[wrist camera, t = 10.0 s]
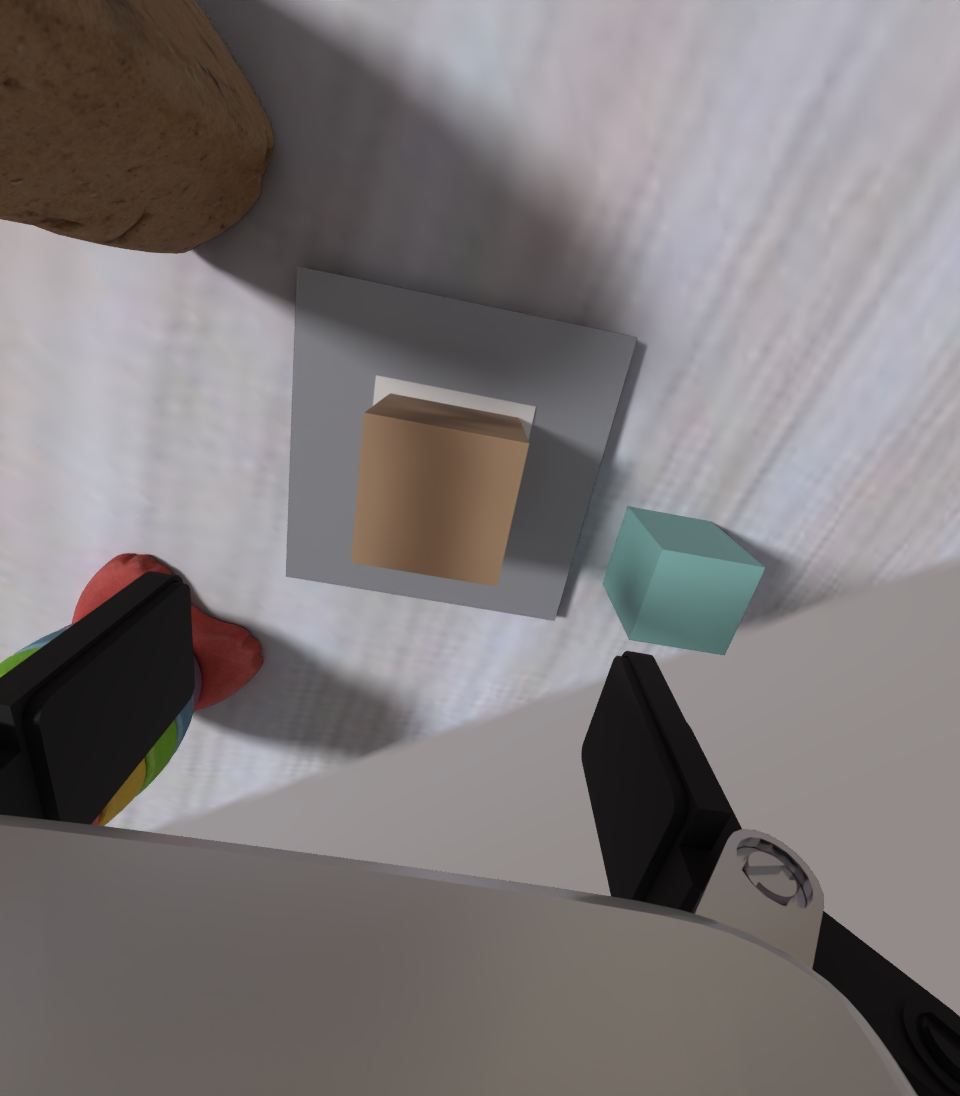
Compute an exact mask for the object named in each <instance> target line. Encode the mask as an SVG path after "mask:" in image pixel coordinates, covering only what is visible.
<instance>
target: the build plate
mask: <svg viewBox="0 0 960 1096" xmlns="http://www.w3.org/2000/svg"><path fill="white" fill-rule="evenodd" d="M636 340H637V337H633V336H628V335H624V334H619V333H614V332H609V331H604V330H600V329H595V328H590V327H585V326H581V325H576V324H571V323H566V322H562V321H557V320H552V319H547V318H543V317H538V316H533V315H528V314H524V313H519V312H514V311H509V310H504V309H500V308H495V307H490V306H485V305H481V304H476V303H471V302H466V301H462V300H457V299H452V298H447V297H443V296H438V295H433V294H428V293H424V292H419V291H414V290H409V289H404V288H400V287H395V286H390V285H385V284H381V283H376V282H371V281H366V280H362V279H357V278H352V277H347V276H343V275H338V274H333V273H328V272H324V271H319V270H314V269H309V268H304V267H300V266H297V276H296V304H295V332H294V361H293V389H292V417H291V446H290V474H289V502H288V531H287V559H286V576H287V577H293V578H299V579H305V580H311V581H317V582H323V583H329V584H335V585H341V586H347V587H353V588H359V589H366V590H372V591H378V592H384V593H390V594H396V595H402V596H408V597H414V598H420V599H426V600H432V601H438V602H444V603H450V604H457V605H463V606H469V607H475V608H481V609H487V610H493V611H499V612H505V613H511V614H517V615H523V616H529V617H535V618H541V619H548V620H554V621H555V618H556V614H557V611H558V607H559V604H560V601H561V597H562V594H563V590H564V587H565V583H566V580H567V577H568V573H569V570H570V566H571V563H572V559H573V556H574V553H575V549H576V546H577V542H578V539H579V535H580V532H581V529H582V525H583V522H584V518H585V515H586V512H587V508H588V505H589V501H590V498H591V494H592V491H593V488H594V484H595V481H596V477H597V474H598V470H599V467H600V464H601V460H602V457H603V453H604V450H605V446H606V443H607V440H608V436H609V433H610V429H611V426H612V423H613V419H614V416H615V412H616V409H617V405H618V402H619V399H620V395H621V392H622V388H623V385H624V381H625V378H626V375H627V371H628V368H629V364H630V361H631V357H632V354H633V351H634V347H635V344H636ZM390 393H392V394H397V395H402V396H408V397H413V398H418V399H423V400H429V401H434V402H439V403H444V404H450V405H455V406H460V407H465V408H471V409H476V410H481V411H486V412H492V413H497V414H502V415H507V416H513V417H518V418H519V419H520V422H521V424H522V427H523V429H524V431H525V434H526V436H527V439H528V441H529V447H528V451H527V456H526V460H525V465H524V469H523V474H522V478H521V483H520V487H519V491H518V496H517V500H516V505H515V509H514V514H513V518H512V522H511V527H510V531H509V536H508V540H507V545H506V549H505V554H504V558H503V562H502V567H501V571H500V576H499V580H498V585H497V587H496V586H490V585H484V584H478V583H472V582H466V581H459V580H453V579H447V578H441V577H435V576H429V575H423V574H417V573H411V572H405V571H399V570H393V569H387V568H381V567H375V566H368V565H362V564H356V563H351V555H352V544H353V532H354V521H355V510H356V499H357V487H358V476H359V465H360V454H361V442H362V431H363V420H364V412H366V411H367V410H368V409H370V408H371V407H372V406H374V405H375V404H376V403H378V402H379V401H380V400H382V399H383V398H384V397H386V396H387V395H388V394H390Z"/></svg>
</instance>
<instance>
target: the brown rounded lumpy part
mask: <svg viewBox="0 0 960 1096" xmlns="http://www.w3.org/2000/svg"><path fill="white" fill-rule="evenodd" d="M274 145H275V144H274V138H273V132H272V126H271V122H270V120H269V118H268V116H267V114H266V113H265V111H264V109H263V107H262V105H261V103H260V101H259V99H258V97H257V95H256V94H255V92H254V90H253V88H252V86H251V85H250V83H249V81H248V79H247V78H246V76H245V75H244V73H243V71H242V70H241V68H240V67H239V65H238V64H237V62H236V60H235V59H234V57H233V56H232V54H231V52H230V50H229V48H228V47H227V45H226V44H225V42H224V41H223V40H222V38H221V37H220V35H219V34H218V32H217V31H216V29H215V28H214V26H213V25H212V23H211V21H210V20H209V18H208V17H207V15H206V14H205V12H204V11H203V9H202V8H201V6H200V5H199V3H198V2H197V1H196V0H0V219H3V220H8V221H13V222H18V223H23V224H29V225H31V224H32V225H34V226H37V227H39V228H42V229H45V230H47V231H50V232H53V233H56V234H59V235H63V236H67V237H71V238H76V239H80V240H84V241H88V242H93V243H97V244H102V245H107V246H112V247H118V248H124V249H130V250H139V251H145V252H154V253H175V254H177V253H185V252H187V251H190V250H192V249H194V248H195V247H197V246H199V245H200V244H202V243H204V242H206V241H209V240H211V239H213V238H215V237H216V236H218V235H219V234H221V233H222V232H224V231H225V230H226V229H228V228H229V227H231V226H232V225H233V224H235V223H236V222H238V221H239V220H240V219H241V218H242V217H243V216H244V215H245V214H246V213H247V212H248V211H249V210H250V209H251V208H252V206H253V205H254V204H255V202H256V201H257V199H258V198H259V196H260V195H261V192H262V177H263V175H264V173H265V171H266V167H267V164H268V162H269V159H270V156H271V154H272V151H273V148H274Z"/></svg>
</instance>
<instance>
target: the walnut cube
mask: <svg viewBox="0 0 960 1096" xmlns="http://www.w3.org/2000/svg"><path fill="white" fill-rule="evenodd" d="M528 447H529V441H528V439H527V436H526V434H525V431H524V429H523V427H522V424H521V422H520V419H519V418H518V417H513V416H507V415H502V414H497V413H492V412H486V411H481V410H476V409H471V408H465V407H460V406H455V405H450V404H444V403H439V402H434V401H429V400H423V399H418V398H413V397H408V396H402V395H397V394H392V393H390V394H388V395H387V396H386V397H384V398H383V399H382V400H380V401H379V402H378V403H376V404H375V405H374V406H372V407H371V408H370V409H368V410H367V411H366V412H364V420H363V431H362V442H361V454H360V465H359V476H358V487H357V499H356V510H355V521H354V532H353V544H352V555H351V563H356V564H362V565H368V566H375V567H381V568H387V569H393V570H399V571H405V572H411V573H417V574H423V575H429V576H435V577H441V578H447V579H453V580H459V581H466V582H472V583H478V584H484V585H490V586H496V587H497V585H498V580H499V576H500V571H501V567H502V562H503V558H504V554H505V549H506V545H507V540H508V536H509V531H510V527H511V522H512V518H513V514H514V509H515V505H516V500H517V496H518V491H519V487H520V483H521V478H522V474H523V469H524V465H525V460H526V456H527V451H528Z"/></svg>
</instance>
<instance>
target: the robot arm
mask: <svg viewBox="0 0 960 1096" xmlns="http://www.w3.org/2000/svg"><path fill="white" fill-rule="evenodd" d="M194 688H195V672H194V654H193V635H192V616H191V598H190V588H189V586H188V585H187V584H185V583H183V581H182V579H181V577H180V576H178V575H172V574H167V573H161V572H155V571H148V572H146V573H144V574H143V575H141V576H140V577H139V578H137V579H136V580H134V581H133V582H132V583H130V584H129V585H127V586H126V587H125V588H123V589H122V590H121V591H119V592H118V593H116V594H115V595H114V596H112V597H111V598H109V599H108V600H107V601H105V602H104V603H103V604H101V605H100V606H98V607H97V608H96V609H94V610H93V611H91V612H90V613H89V614H87V615H86V616H85V617H83V618H82V619H80V620H79V621H78V622H76V623H75V624H73V625H72V626H71V627H69V628H68V629H67V630H65V631H64V632H62V633H61V634H60V635H58V636H57V637H56V638H54V639H53V640H51V641H50V642H49V643H47V644H46V645H44V646H43V647H42V648H40V649H39V650H38V651H36V652H35V653H33V654H32V655H31V656H29V657H28V658H26V659H25V660H24V661H22V662H21V663H20V664H18V665H17V666H15V667H14V668H13V669H11V670H10V671H8V672H7V673H6V674H4V675H3V676H2V677H0V1096H960V1017H959V1016H958V1015H957V1014H956V1013H955V1012H953V1010H951V1009H950V1008H949V1007H947V1006H946V1005H945V1004H943V1003H942V1002H941V1001H940V1000H938V999H937V998H935V997H934V996H933V995H932V994H930V993H929V992H928V991H927V990H925V989H924V988H923V987H921V986H920V985H919V984H918V983H916V982H915V981H914V980H912V979H911V978H910V977H908V976H907V975H906V974H905V973H903V972H902V971H901V970H899V969H898V968H897V967H896V966H894V965H893V964H892V963H890V962H889V961H888V960H886V959H885V958H883V956H881V955H880V954H879V953H877V952H876V951H875V950H873V949H872V948H871V947H869V946H868V945H867V944H866V943H864V942H863V941H862V940H860V939H859V938H858V937H857V936H855V935H854V934H852V933H851V932H850V931H849V930H848V929H846V928H845V927H844V926H842V925H841V924H840V923H838V922H837V921H836V920H835V919H833V918H832V917H831V916H829V915H828V914H827V913H825V912H824V911H823V909H824V894H823V891H822V889H821V887H820V884H819V881H818V879H817V878H816V876H815V875H814V873H813V872H812V870H811V869H810V867H809V866H808V865H807V864H806V863H805V862H804V861H803V859H802V858H801V857H800V856H799V855H798V854H797V853H796V852H794V851H793V850H792V849H791V848H789V847H788V846H787V845H785V844H784V843H783V842H781V841H779V840H778V839H776V838H774V837H772V836H770V835H769V834H766V833H763V832H760V831H757V830H749V829H742V828H741V826H740V824H739V822H738V820H737V818H736V816H735V814H734V812H733V810H732V808H731V806H730V804H729V802H728V800H727V799H726V796H725V794H724V793H723V790H722V788H721V787H720V785H719V783H718V781H717V779H716V777H715V775H714V773H713V771H712V769H711V767H710V765H709V763H708V761H707V759H706V757H705V755H704V753H703V751H702V749H701V747H700V745H699V743H698V741H697V739H696V737H695V735H694V733H693V731H692V729H691V728H690V726H689V725H688V723H687V722H686V720H685V718H684V716H683V714H682V712H681V711H680V708H679V706H678V705H677V702H676V700H675V698H674V696H673V694H672V692H671V690H670V689H669V686H668V685H667V683H666V681H665V679H664V677H663V675H662V673H661V671H660V669H659V667H658V665H657V663H656V661H655V659H654V657H653V656H652V655H648V654H642V653H636V652H630V651H626V652H624V653H623V655H622V657H621V656H616V657H615V658H614V660H613V662H612V665H611V668H610V671H609V673H608V676H607V679H606V682H605V685H604V687H603V690H602V693H601V696H600V698H599V701H598V704H597V707H596V709H595V712H594V715H593V718H592V720H591V723H590V726H589V729H588V732H587V734H586V737H585V740H584V742H583V746H582V763H583V769H584V773H585V777H586V782H587V787H588V792H589V796H590V801H591V805H592V810H593V814H594V819H595V823H596V828H597V833H598V838H599V842H600V847H601V851H602V855H603V860H604V865H605V870H606V875H607V879H608V884H609V888H610V893H611V896H605V895H598V894H592V893H586V892H580V891H573V890H567V889H561V888H555V887H548V886H541V885H533V884H527V883H520V882H513V881H506V880H499V879H491V878H485V877H477V876H470V875H463V874H455V873H449V872H442V871H434V870H428V869H421V868H414V867H406V866H399V865H392V864H385V863H377V862H370V861H363V860H355V859H348V858H341V857H333V856H326V855H318V854H310V853H304V852H296V851H289V850H282V849H274V848H266V847H259V846H251V845H244V844H237V843H229V842H221V841H214V840H205V839H198V838H191V837H183V836H175V835H167V834H159V833H152V832H144V831H137V830H129V829H121V828H114V827H106V826H98V825H91V824H92V823H93V822H94V821H95V819H96V818H97V817H98V815H99V814H100V813H101V812H102V810H103V809H104V808H105V807H106V805H107V804H108V803H109V802H110V800H111V799H112V798H113V797H114V795H115V794H116V793H117V792H118V790H119V789H120V788H121V786H122V785H123V784H124V783H125V781H126V780H127V779H128V778H129V776H130V775H131V774H132V773H133V771H134V770H135V769H136V768H137V766H138V765H139V764H140V763H141V761H142V760H143V759H144V758H145V756H146V755H147V754H148V752H149V751H150V750H151V749H152V747H153V746H154V745H155V744H156V742H157V741H158V740H159V739H160V737H161V736H162V735H163V734H164V732H165V731H166V730H167V729H168V727H169V726H170V725H171V723H172V722H173V721H174V720H175V718H176V717H177V716H178V715H179V713H180V712H181V711H182V710H183V708H184V707H185V706H186V705H187V703H188V702H189V700H190V699H191V697H192V695H193V692H194Z"/></svg>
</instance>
